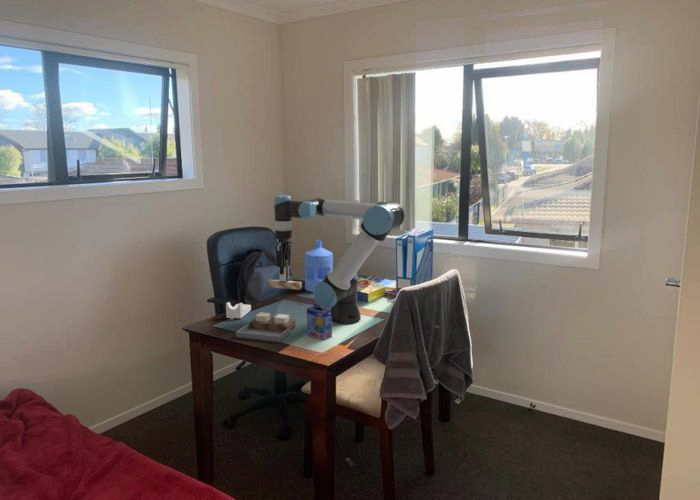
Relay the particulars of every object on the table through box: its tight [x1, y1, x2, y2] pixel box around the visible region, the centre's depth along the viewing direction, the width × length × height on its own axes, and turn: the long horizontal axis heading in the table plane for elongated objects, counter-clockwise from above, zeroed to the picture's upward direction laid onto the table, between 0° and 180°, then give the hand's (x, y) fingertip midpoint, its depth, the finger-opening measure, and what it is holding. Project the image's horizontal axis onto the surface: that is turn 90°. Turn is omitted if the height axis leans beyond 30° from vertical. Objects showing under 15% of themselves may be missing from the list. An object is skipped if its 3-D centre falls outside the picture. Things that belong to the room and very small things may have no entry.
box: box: [235, 323, 291, 344], centre depth 229 cm, size 20×11×2 cm, turn 74°
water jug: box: [304, 239, 334, 293], centre depth 299 cm, size 16×16×28 cm
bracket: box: [225, 301, 252, 320], centre depth 256 cm, size 13×7×8 cm, turn 169°
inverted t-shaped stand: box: [266, 260, 303, 291], centre depth 247 cm, size 16×3×13 cm, turn 74°
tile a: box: [273, 313, 290, 324], centre depth 236 cm, size 5×5×2 cm
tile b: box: [255, 311, 272, 322], centre depth 239 cm, size 5×5×2 cm
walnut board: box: [249, 316, 296, 332], centre depth 238 cm, size 18×9×4 cm, turn 74°
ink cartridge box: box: [306, 303, 333, 341], centre depth 228 cm, size 10×6×14 cm, turn 55°
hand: (284, 279), depth 247 cm, fingers closed on inverted t-shaped stand, 3 cm apart
